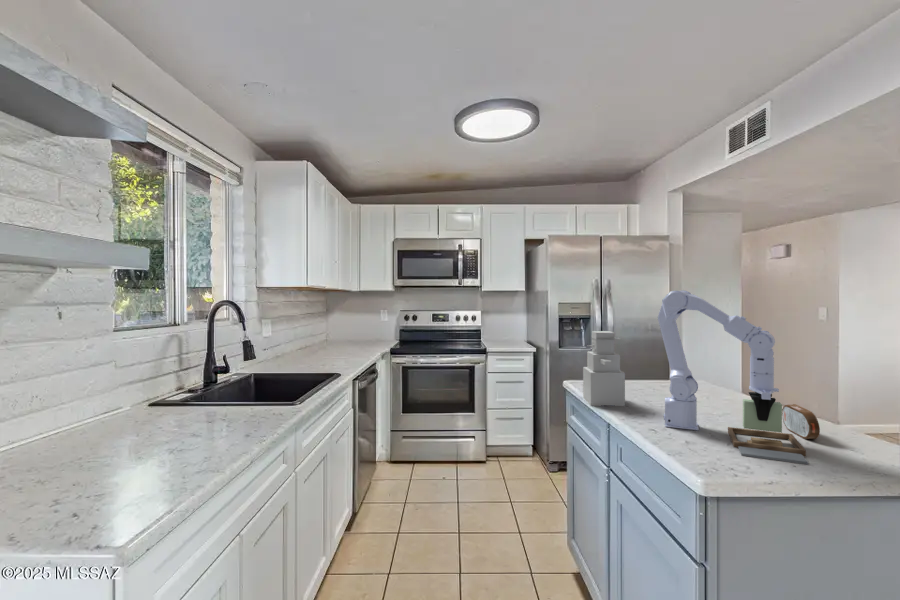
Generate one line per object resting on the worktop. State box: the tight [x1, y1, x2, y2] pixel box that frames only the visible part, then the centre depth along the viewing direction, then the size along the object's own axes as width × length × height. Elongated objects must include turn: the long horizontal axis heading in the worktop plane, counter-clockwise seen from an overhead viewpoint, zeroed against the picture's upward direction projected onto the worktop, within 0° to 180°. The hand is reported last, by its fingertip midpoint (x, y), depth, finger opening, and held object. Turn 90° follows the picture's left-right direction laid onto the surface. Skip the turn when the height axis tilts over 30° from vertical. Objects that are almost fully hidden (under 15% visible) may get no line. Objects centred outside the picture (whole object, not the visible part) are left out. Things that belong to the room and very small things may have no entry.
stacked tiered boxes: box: [582, 330, 626, 407], centre depth 175 cm, size 13×24×28 cm, turn 175°
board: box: [742, 398, 783, 433], centre depth 128 cm, size 9×3×8 cm, turn 63°
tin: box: [782, 403, 821, 440], centre depth 132 cm, size 15×3×8 cm, turn 168°
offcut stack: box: [746, 436, 784, 447], centre depth 123 cm, size 8×2×2 cm, turn 63°
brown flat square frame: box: [727, 426, 807, 457], centre depth 125 cm, size 16×15×2 cm
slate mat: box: [737, 446, 809, 465], centre depth 116 cm, size 14×6×1 cm, turn 63°
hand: (761, 418), depth 128 cm, fingers closed on board, 3 cm apart
